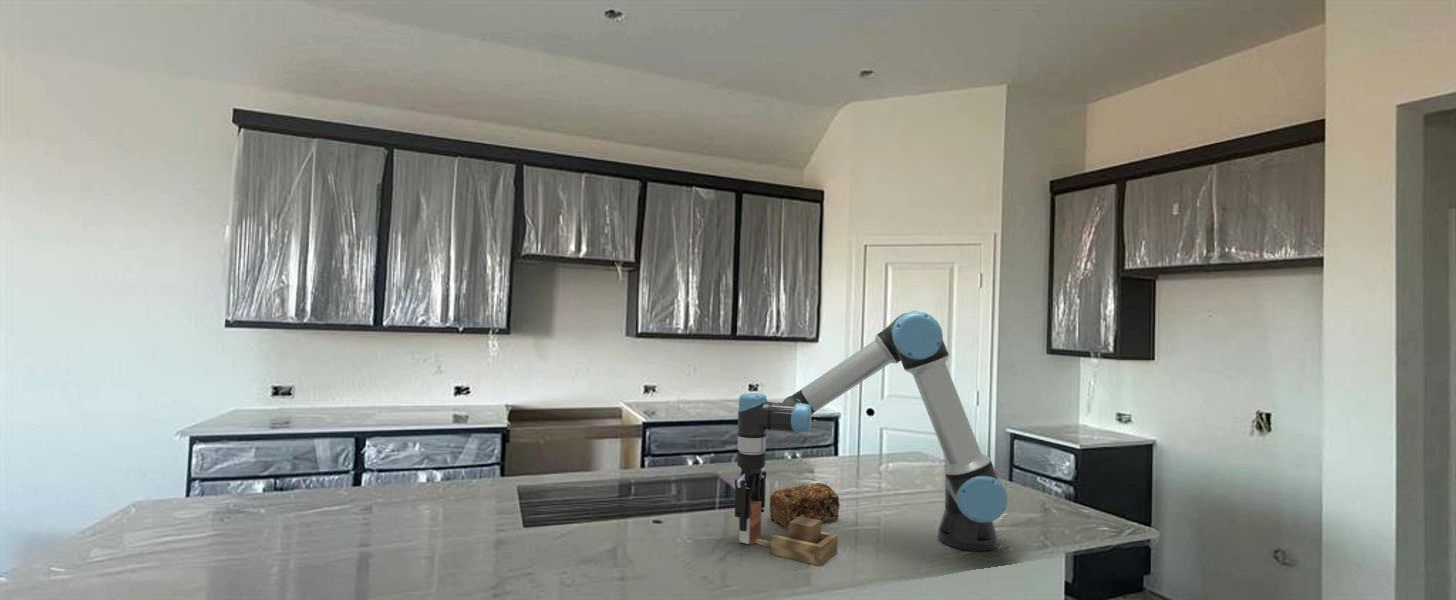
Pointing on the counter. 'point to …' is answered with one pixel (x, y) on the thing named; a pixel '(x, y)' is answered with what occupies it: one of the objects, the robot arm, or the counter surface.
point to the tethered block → (797, 528)
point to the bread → (804, 503)
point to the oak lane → (805, 548)
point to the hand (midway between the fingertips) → (749, 539)
